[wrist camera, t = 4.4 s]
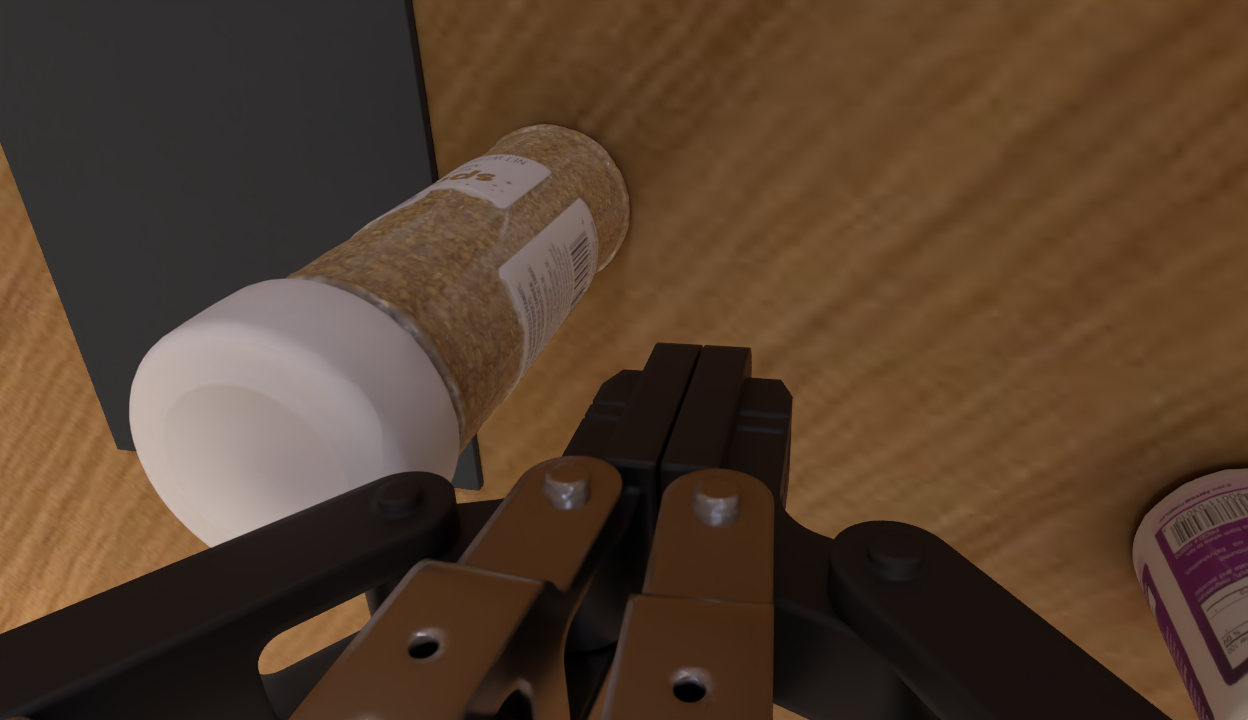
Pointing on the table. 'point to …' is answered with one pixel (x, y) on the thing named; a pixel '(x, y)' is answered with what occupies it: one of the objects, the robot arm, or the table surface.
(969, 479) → the table surface
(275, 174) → the mat
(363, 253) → the sprinkles bottle
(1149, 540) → the pill bottle
